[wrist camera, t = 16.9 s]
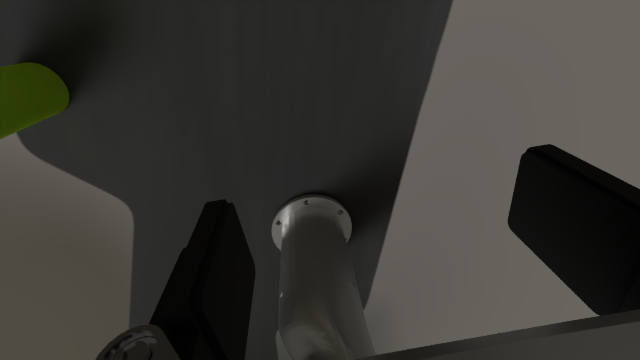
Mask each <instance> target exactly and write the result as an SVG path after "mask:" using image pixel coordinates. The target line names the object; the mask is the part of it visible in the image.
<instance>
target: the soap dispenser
mask: <svg viewBox="0 0 640 360" xmlns="http://www.w3.org/2000/svg"><path fill="white" fill-rule="evenodd" d="M68 103H69V92H68V89H67V87H66V85H65V83H64V82H63V80H62V79H61V78H60V77H59V76H58V75H57V74H56V73H55V72H53V71H52V70H51V69H49V68H47V67H45V66H43V65H40V64H37V63H31V62H26V63H20V64H15V65H10V66H5V67H0V139H2V138H4V137H6V136H8V135H11V134H13V133H15V132H17V131H20V130H22V129H24V128H26V127H29V126H31V125H33V124H35V123H38V122H40V121H42V120H44V119H47V118H49V117H51V116H53V115H56V114H58V113H60V112H62V111H63V110H65V109H66V107H67V106H68Z"/></svg>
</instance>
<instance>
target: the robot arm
mask: <svg viewBox="0 0 640 360" xmlns="http://www.w3.org/2000/svg"><path fill="white" fill-rule="evenodd" d="M306 200H307V201H306ZM508 225H509V228H510V229H511V230H512V232H514V234H515V235H516V236H517V237H518V238H520V239H521V241H522V242H524V243H525V245H527V246H528V247H529V248H530V249H531V250H532V251H533V252H534V253H535V254H536V255H537V256H538V257H539V258H540V259H541V260H542V261H543V262H544V263H545V264H546V265H547V266H548V267H549V268H550V269H551V270H552V271H553V272H554V273H555V274H556V275H557V276H558V277H559V278H560V279H561V280H562V281H563V282H564V283H565V284H566V285H567V286H568V287H569V288H570V289H571V290H572V291H573V292H574V293H575V294H576V295H577V296H578V297H579V298H580V299H581V300H582V301H583V302H584V303H585V304H586V305H587V306H588V307H589V308H590V309H591V310H592V311H594V312H595V313H596V314H598V315H600V316H597V317H591V318H585V319H579V320H573V321H567V322H562V323H556V324H550V325H545V326H538V327H533V328H527V329H521V330H516V331H510V332H505V333H498V334H493V335H487V336H481V337H476V338H470V339H464V340H458V341H453V342H447V343H441V344H435V345H430V346H424V347H419V348H413V349H407V350H402V351H396V352H392V353H385V354H380V355H376V353H375V350H374V347H373V344H372V341H371V338H370V335H369V331H368V328H367V324H366V321H365V316H364V312H363V308H362V304H361V300H360V296H359V292H358V288H357V284H356V280H355V276H354V272H353V268H352V264H351V260H350V256H349V252H348V248H347V242H348V240H349V238H350V236H351V232H352V223H351V218H350V216H349V213H348V211H347V210H346V208H345V207H344V206H343V205H342V204H341V203H340V202H338V201H336V200H335V199H333V198H330V197H328V196H324V195H315V194H310V195H303V196H300V197H296V198H294V199H292V200H290V201H288V202H287V203H285V204H284V205H283V206H282V207H281V208H280V209H279V210H278V211H277V213H276V215H275V216H274V219H273V222H272V237H273V241H274V243H275V244H276V246H277V247H278V248H279V250H280V251H281V265H280V295H279V331H280V336H281V339H282V341H283V344H284V346H285V348H286V350H287V352H288V354H289V355H290V357H291V358H292V359H293V360H640V189H638V188H636V187H634V186H632V185H630V184H628V183H626V182H624V181H623V180H620V179H619V178H617V177H615V176H613V175H611V174H609V173H607V172H605V171H603V170H601V169H599V168H597V167H595V166H593V165H591V164H589V163H587V162H585V161H583V160H581V159H579V158H577V157H575V156H573V155H571V154H569V153H567V152H565V151H563V150H561V149H559V148H558V147H556V146H554V145H551V144H548V145H541V146H535V147H530V148H528V149H527V151H526V152H525V153H524V154H523V155H522V156H521V160H520V164H519V169H518V174H517V178H516V183H515V188H514V192H513V197H512V202H511V207H510V211H509V216H508ZM254 281H255V265H254V261H253V258H252V256H251V253H250V250H249V247H248V244H247V241H246V238H245V235H244V232H243V230H242V227H241V224H240V221H239V218H238V215H237V212H236V209H235V207H234V204H233V203H227V201H226V200H225V199H223V200H217V201H211V202H207V203H206V204H205V206H204V208H203V210H202V213H201V215H200V217H199V220H198V222H197V224H196V227H195V229H194V231H193V233H192V236H191V238H190V240H189V243H188V245H187V247H186V248H184V249H183V250H182V252H181V253H180V256H179V258H178V260H177V262H176V264H175V267H174V269H173V271H172V273H171V276H170V278H169V280H168V282H167V285H166V287H165V289H164V291H163V293H162V296H161V298H160V300H159V302H158V305H157V307H156V309H155V311H154V314H153V316H152V318H151V320H150V322H149V324H144V325H139V326H136V327H133V328H130V329H128V330H127V331H125V332H123V333H121V334H120V335H118V336H117V337H116V338H114V339H113V340H112V341H111V342H109V343H108V344H107V345H106V347H105V348H104V349H103V350H102V351H101V352H100V353H99V355H98V356H97V358H96V360H244V359H245V351H246V343H247V336H248V328H249V320H250V312H251V304H252V297H253V289H254Z"/></svg>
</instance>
